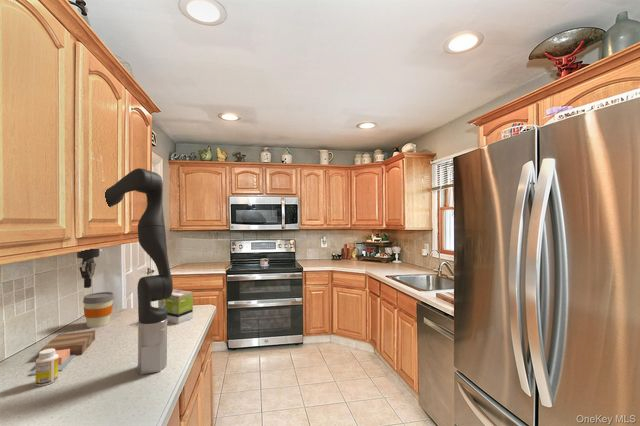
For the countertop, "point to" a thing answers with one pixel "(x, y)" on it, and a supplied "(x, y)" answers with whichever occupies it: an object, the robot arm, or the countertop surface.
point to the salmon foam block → (62, 355)
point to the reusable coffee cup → (98, 308)
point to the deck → (72, 342)
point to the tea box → (178, 306)
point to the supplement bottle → (46, 367)
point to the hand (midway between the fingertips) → (87, 287)
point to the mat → (60, 367)
